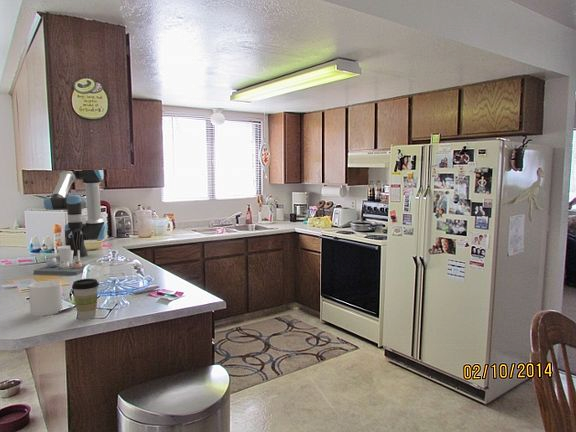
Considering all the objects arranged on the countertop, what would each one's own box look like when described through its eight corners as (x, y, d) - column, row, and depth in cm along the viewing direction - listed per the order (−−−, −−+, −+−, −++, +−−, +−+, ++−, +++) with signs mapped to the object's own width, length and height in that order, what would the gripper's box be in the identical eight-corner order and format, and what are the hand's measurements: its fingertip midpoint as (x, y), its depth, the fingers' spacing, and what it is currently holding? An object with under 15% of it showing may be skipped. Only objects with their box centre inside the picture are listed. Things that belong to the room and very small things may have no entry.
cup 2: (78, 262, 268) (77, 245, 267) (69, 265, 259) (68, 248, 257) (64, 262, 269) (63, 245, 268) (54, 265, 260) (53, 248, 258)
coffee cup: (88, 322, 163) (86, 285, 161) (67, 320, 165) (65, 283, 164) (105, 314, 172) (104, 279, 170) (86, 312, 175) (84, 277, 173)
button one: (50, 265, 249) (50, 257, 249) (58, 265, 249) (57, 257, 248) (45, 266, 245) (44, 259, 244) (53, 267, 244) (52, 259, 244)
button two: (63, 268, 249) (63, 261, 248) (71, 269, 248) (70, 261, 248) (58, 270, 244) (57, 262, 244) (66, 270, 244) (65, 263, 243)
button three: (76, 269, 248) (75, 261, 248) (83, 269, 248) (83, 261, 247) (71, 271, 243) (70, 263, 243) (79, 271, 243) (78, 263, 242)
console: (54, 266, 256) (53, 263, 256) (94, 267, 254) (94, 264, 254) (33, 273, 239) (33, 270, 238) (76, 275, 236) (76, 271, 236)
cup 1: (54, 305, 184) (52, 278, 182) (67, 310, 177) (66, 283, 176) (25, 312, 174) (23, 284, 173) (38, 318, 167) (36, 289, 166)
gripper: (75, 219, 249) (77, 258, 252) (61, 222, 236) (64, 263, 239) (87, 220, 248) (89, 258, 251) (74, 223, 236) (76, 263, 238)
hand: (77, 261), depth 245 cm, fingers closed
